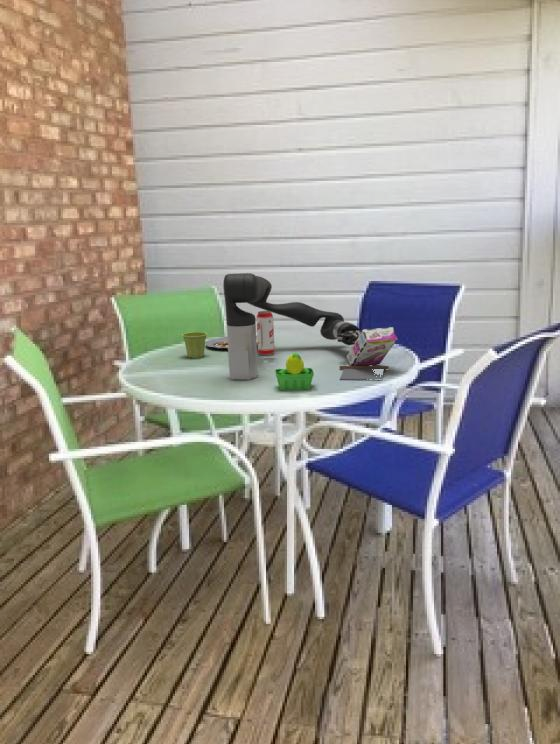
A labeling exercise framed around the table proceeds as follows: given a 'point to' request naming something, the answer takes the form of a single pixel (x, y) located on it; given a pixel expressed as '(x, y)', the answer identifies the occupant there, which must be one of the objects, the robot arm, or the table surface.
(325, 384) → the table surface
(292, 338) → the table surface
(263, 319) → the beer can
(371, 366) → the strip
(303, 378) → the fruit basket
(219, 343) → the food plate
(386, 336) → the candy bar box
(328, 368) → the table surface
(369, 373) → the mat
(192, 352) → the plant pot
